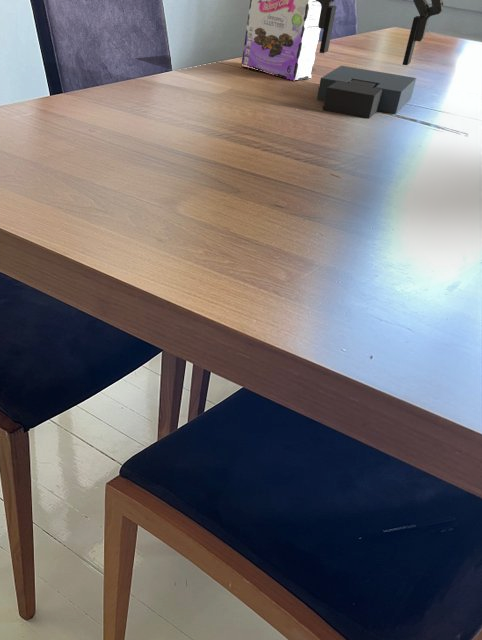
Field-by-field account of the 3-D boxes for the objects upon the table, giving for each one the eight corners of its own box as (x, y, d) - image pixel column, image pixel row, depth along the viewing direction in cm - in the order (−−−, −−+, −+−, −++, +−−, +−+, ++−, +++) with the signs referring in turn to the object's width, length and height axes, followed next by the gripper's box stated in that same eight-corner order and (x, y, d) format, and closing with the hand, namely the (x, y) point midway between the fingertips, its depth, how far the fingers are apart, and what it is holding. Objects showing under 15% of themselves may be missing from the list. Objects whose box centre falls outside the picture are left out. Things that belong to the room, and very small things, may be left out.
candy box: (239, 67, 146) (252, -31, 136) (258, 64, 150) (272, -31, 140) (293, 82, 139) (312, -21, 129) (312, 79, 142) (331, -21, 132)
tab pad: (381, 107, 128) (387, 85, 125) (369, 118, 121) (374, 95, 119) (337, 99, 130) (341, 77, 128) (322, 109, 123) (327, 87, 121)
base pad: (410, 98, 135) (416, 77, 132) (395, 114, 124) (401, 91, 122) (336, 85, 139) (341, 65, 137) (316, 99, 129) (320, 77, 127)
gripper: (309, -113, 107) (284, 50, 120) (486, -100, 99) (438, 72, 112) (323, -111, 113) (297, 44, 126) (492, -99, 105) (446, 65, 118)
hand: (364, 58), depth 119 cm, fingers open, 13 cm apart
